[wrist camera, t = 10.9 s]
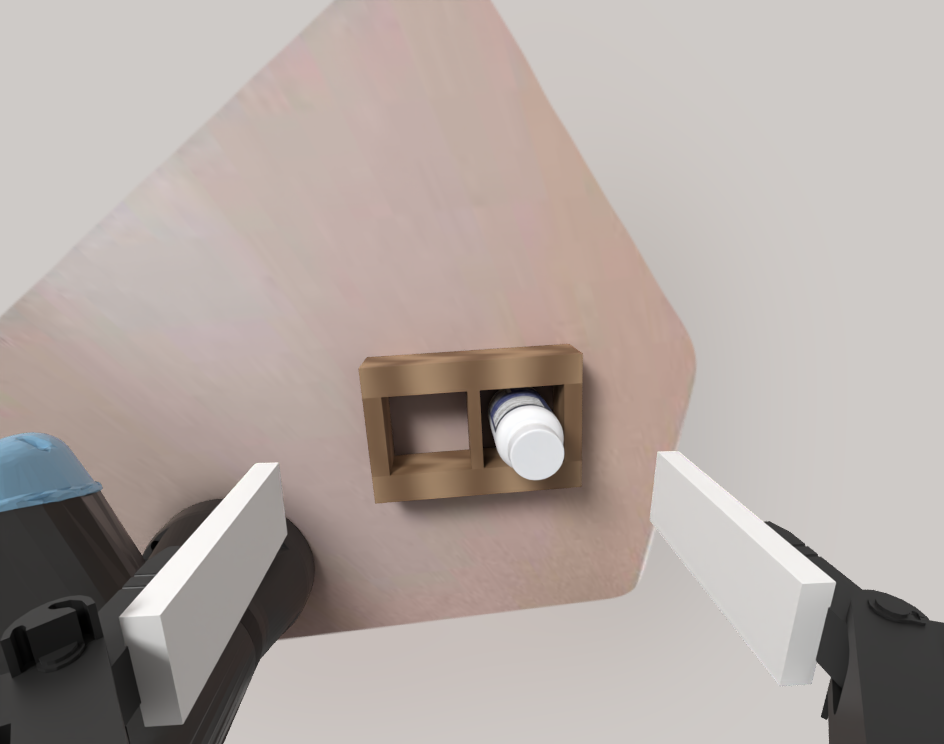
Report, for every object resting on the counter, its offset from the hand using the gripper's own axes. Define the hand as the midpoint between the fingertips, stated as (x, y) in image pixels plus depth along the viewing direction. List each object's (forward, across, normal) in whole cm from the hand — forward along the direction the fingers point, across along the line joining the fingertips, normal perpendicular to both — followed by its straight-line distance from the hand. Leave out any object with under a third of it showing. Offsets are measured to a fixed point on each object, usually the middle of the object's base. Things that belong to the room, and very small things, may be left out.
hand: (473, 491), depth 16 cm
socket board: (+25, +2, -6) cm, 26 cm away
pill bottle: (+25, +6, -6) cm, 27 cm away
